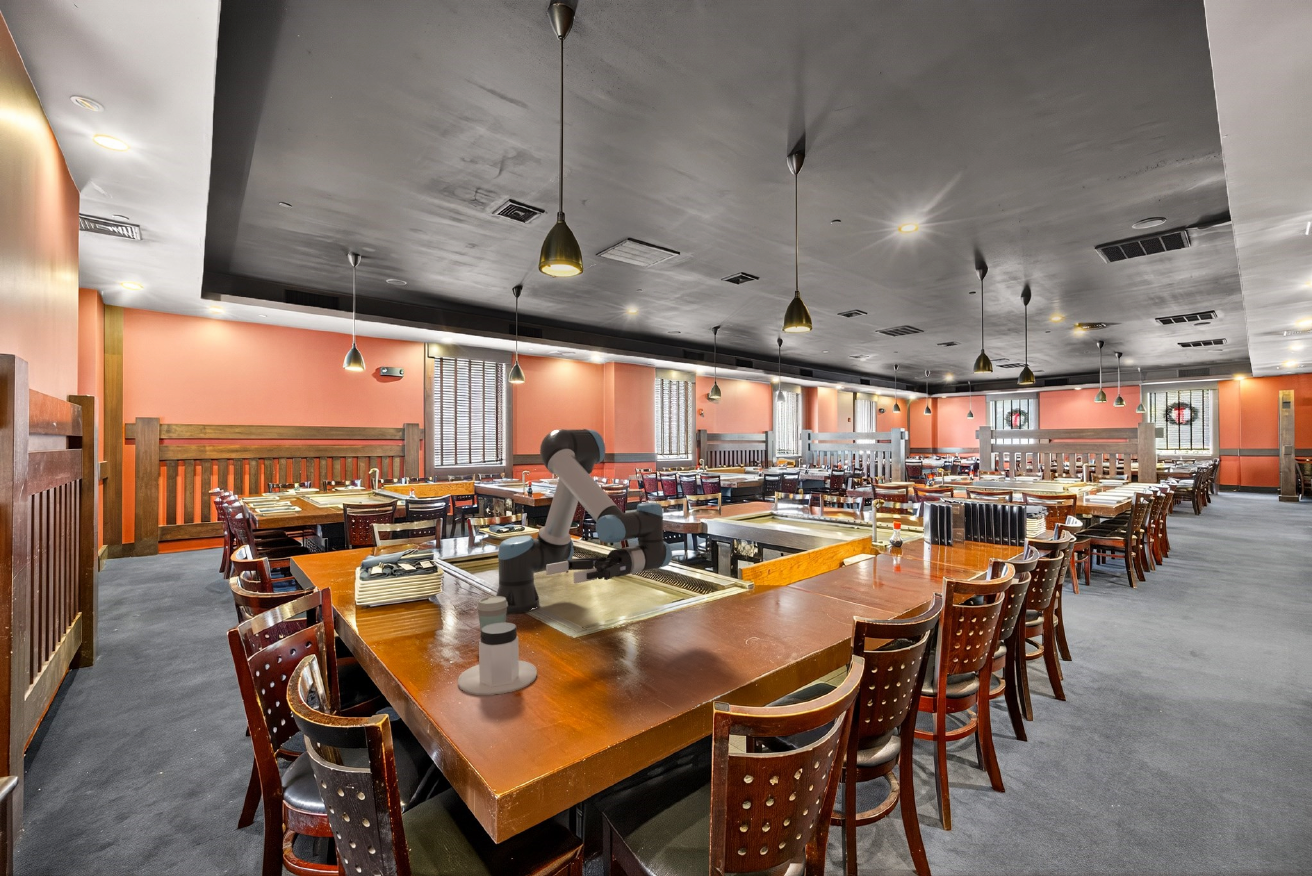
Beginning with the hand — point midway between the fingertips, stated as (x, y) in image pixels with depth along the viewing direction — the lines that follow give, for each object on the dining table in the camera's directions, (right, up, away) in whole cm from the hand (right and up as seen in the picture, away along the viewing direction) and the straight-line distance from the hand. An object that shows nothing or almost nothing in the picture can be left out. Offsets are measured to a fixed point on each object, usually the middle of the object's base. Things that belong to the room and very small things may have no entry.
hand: (560, 573), depth 147 cm
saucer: (-13, -22, -12) cm, 28 cm away
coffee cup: (-21, -23, +13) cm, 33 cm away
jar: (-12, -21, -15) cm, 28 cm away
